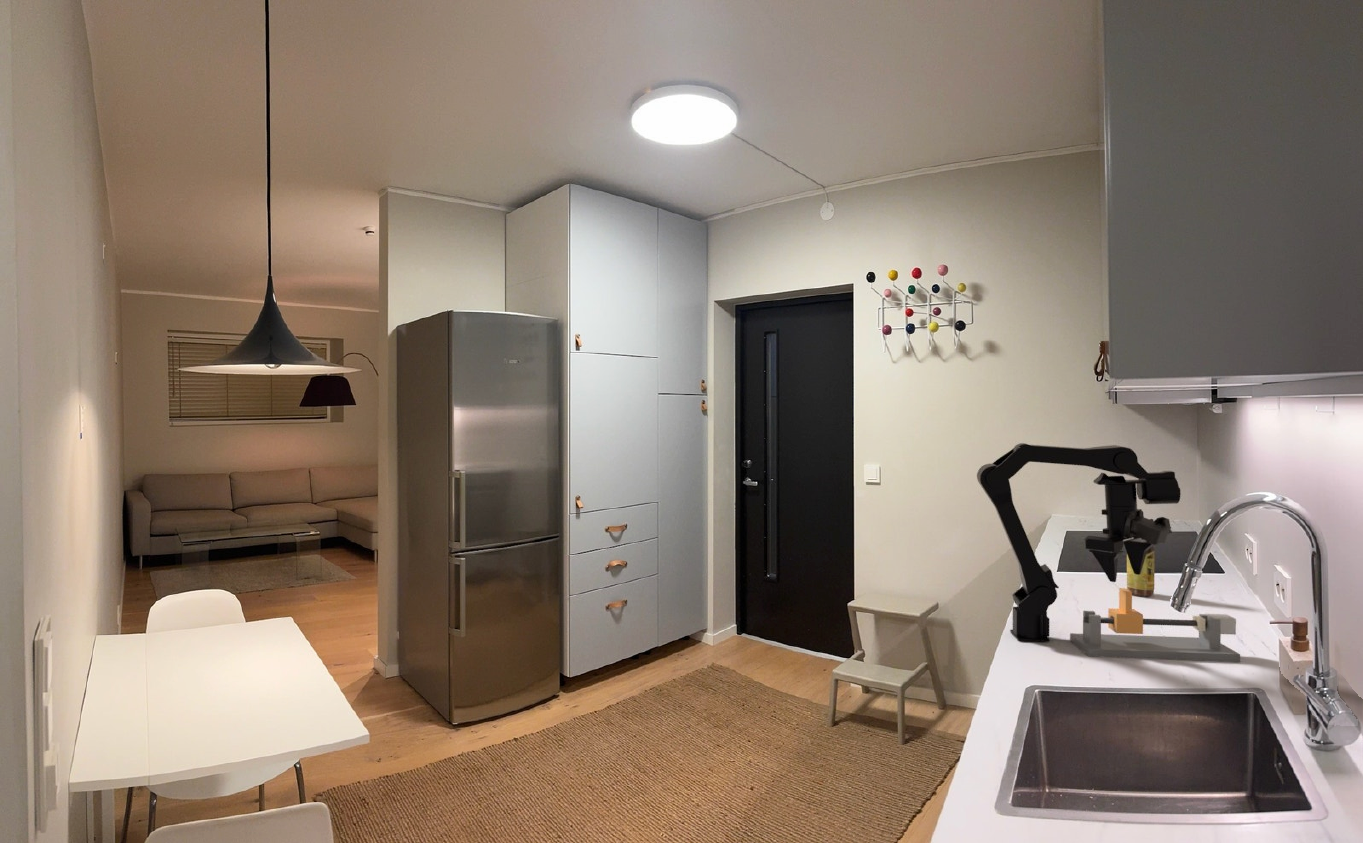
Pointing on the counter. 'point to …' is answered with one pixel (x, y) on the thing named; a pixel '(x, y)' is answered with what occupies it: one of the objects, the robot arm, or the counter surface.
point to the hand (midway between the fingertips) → (1125, 578)
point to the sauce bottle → (1142, 576)
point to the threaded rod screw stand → (1160, 639)
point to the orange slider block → (1126, 615)
